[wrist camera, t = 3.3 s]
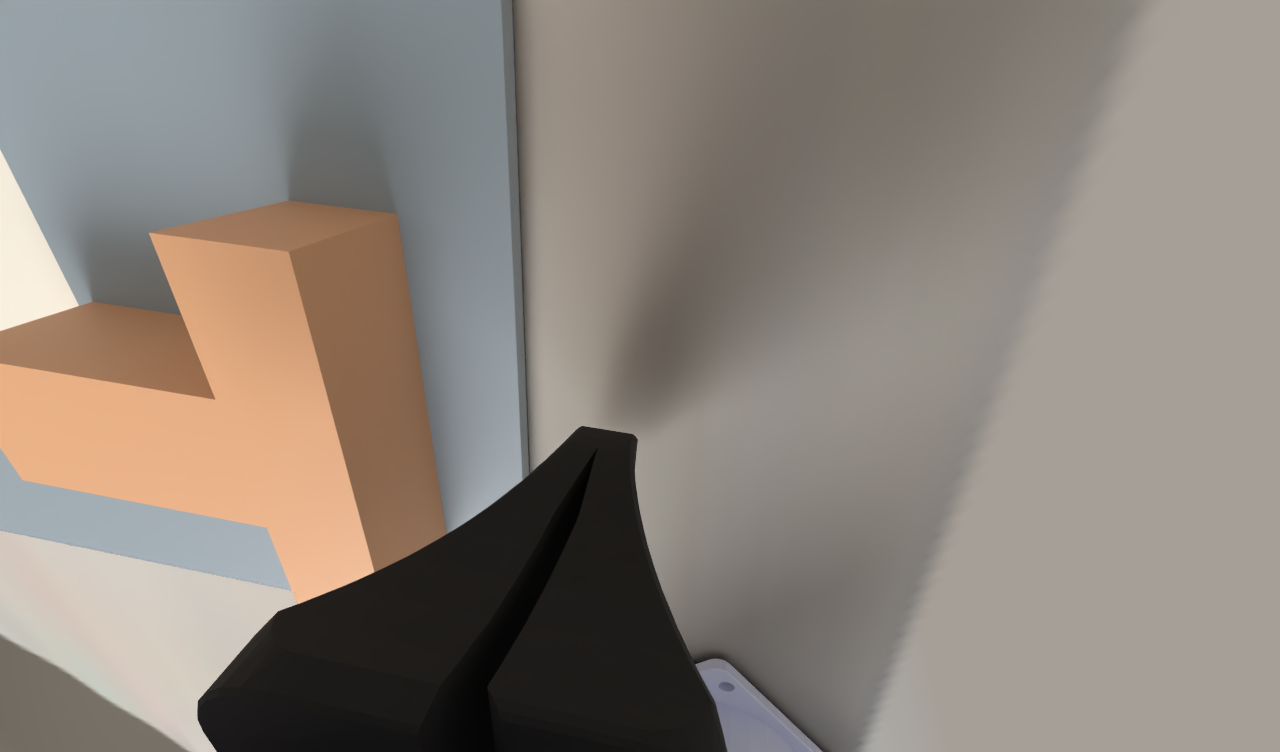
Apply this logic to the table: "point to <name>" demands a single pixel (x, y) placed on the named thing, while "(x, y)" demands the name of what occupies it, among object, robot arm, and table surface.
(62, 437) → the t block
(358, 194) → the board
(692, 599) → the table surface
